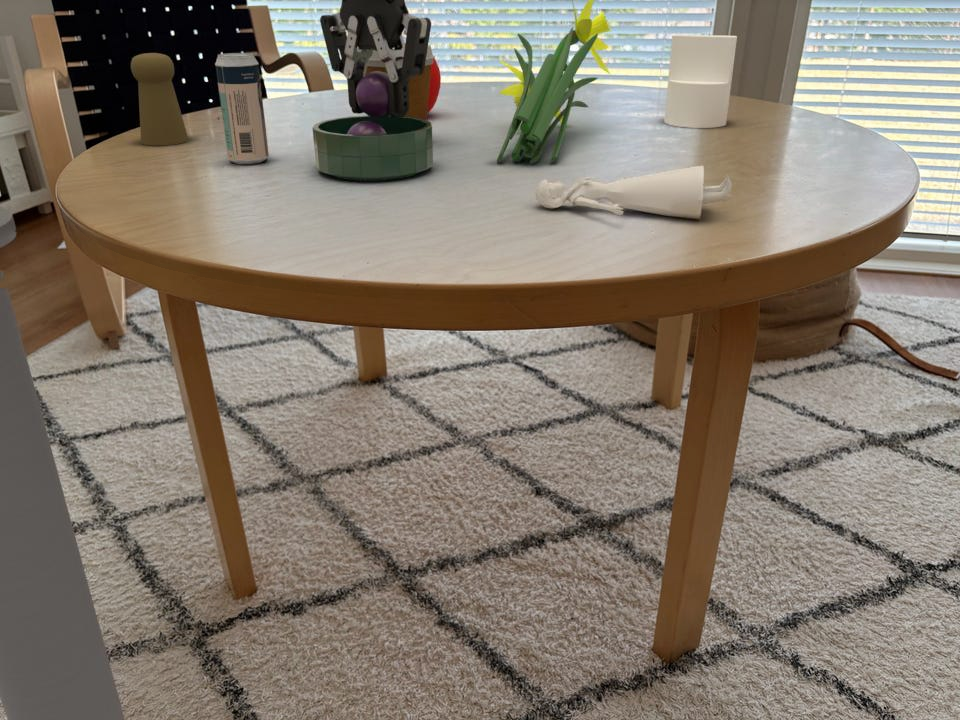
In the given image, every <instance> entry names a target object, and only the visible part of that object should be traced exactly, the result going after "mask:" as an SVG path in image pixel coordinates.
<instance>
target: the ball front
mask: <svg viewBox="0 0 960 720" xmlns="http://www.w3.org/2000/svg"><path fill="white" fill-rule="evenodd" d="M388 83H391V81H390V79H389V76H388V74H387V73H384V72H380V71H374V72H370V73H368V74H366V75H365V76H363V77H362V78H361V80H360V81H359V83H358V85H357V88H356V100H357V103H358V105H359V107H360V109H361V110H362V111H363V112H364V113H363V114H365V115H366V116H370V117H373V118H385V117H388V116H390V112H389V92H388Z"/></svg>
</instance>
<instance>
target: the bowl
mask: <svg viewBox="0 0 960 720" xmlns="http://www.w3.org/2000/svg"><path fill="white" fill-rule="evenodd" d="M362 121H371V122H374V123H377V124H378V125H380V126H381V127H382V128H383V129H384V130H385V131H386V133H387V134H383V135H348V134H347V132H348V131H349V129H350V128H351V127H352V126H353V125H355V124H357V123H359V122H362ZM312 139H313V148H314V159H315V160H314V161H315V167H316V169H317V170H318V171H319V172H320V173H321V172H322V173H325V174H328V175H330V176H332V177H335V178H338V179H342V180H350V181H360V182H361V181H362V182H363V181H364V182H365V181H366V182H367V181H368V182H369V181H370V182H373V181H374V182H375V181H377V182H378V181H392V180H398V179H404V178H405V179H406V178H408V177H412V176H415V175H417V174H419V173H422V172H423V171H427V170H428V169H430V168H431V167H433V165H434V149H433V148H434V143H433V142H434V141H433V123H432V122H431V121H429V120H424V119H420V118H415V117H406V116H404V117H400V118H392V117H391V116H388V117H385V118H373V117H370V116H368V115H354V116H344V117H335V118H331V119H326V120H325V119H324V120H322V121H319V122H316V123H315V124H314V125H313V126H312Z"/></svg>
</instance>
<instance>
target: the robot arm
mask: <svg viewBox="0 0 960 720" xmlns="http://www.w3.org/2000/svg"><path fill="white" fill-rule="evenodd" d="M319 22H320V27H321V30H322V35H323V40H324V43H325V48H326V51H327V55H328V59H329V62H330V67H331V69H332V71H333V72H339V73H341V74H342V75H343V76H344V77H345V78H346V82H347V93H348V94H347V97H348V104H349V108H351V112H352V114H358V115H360V114H365V113H364V112H363V111H362V110H361V109H360V107H359V105H358V103H357V100H356V88H357V85H358V83H359V81H360V80H361V78H362V77H363V76H365V74H366V70H367V65H368V60H369V58H370V57H371V56H372V54H373V50H375V51H378V54H379V57H380V60H381V61H382V62H384V64H385V67H386V70H387V73H388V76H389V79H390V81H391V83H388V92H389V112H390V116H391V117H392V118H400V117H404V116H406V114H407V111H408V110H409V87H408V83H409V80H410V79H411V78H413V77H415V76H419V75H422V74H423V73H424V68H425V62H426V55H427V49H428V45H429V42H430V36H431V29H432V21H431V18H429V17H418V16H415V15H412V14H410V12H409V9H408V8H407V5H406V0H341V4H340V8H339V12H337V13H333V14H323V15H321V16H320V18H319ZM403 34H404V36H406V37H405V40H404V37H403ZM393 48H394V49H395V50H394V51H392V49H393Z"/></svg>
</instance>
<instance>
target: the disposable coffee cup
mask: <svg viewBox="0 0 960 720" xmlns="http://www.w3.org/2000/svg"><path fill="white" fill-rule="evenodd" d="M394 50H395V49H394V48H393V49H392V51H394ZM434 58H435V59H436V56H435V55H434V54H433V50H432V46H431V44H428V49H427V55H426V62H425V68H424V73H423V74H422V75H419V76H415V77H413V78H411V79H410V80H409V83H408V87H409V110H408V111H407V114H406V117H415V118H420V119H424V120H427V119H428V114H427V110H428V98H429V88H430V76H431V65H432V64H433V59H434ZM374 71H380V72H384V73H387V70H386V67H385V64H384V62H382V61H381V60H380V57H379V54H378V51H375V50H373V54H372V56H371V57H370V58H369V60H368V65H367V70H366V74H368V73H370V72H374ZM366 74H365V75H366ZM387 74H388V73H387ZM427 121H428V120H427Z"/></svg>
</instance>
